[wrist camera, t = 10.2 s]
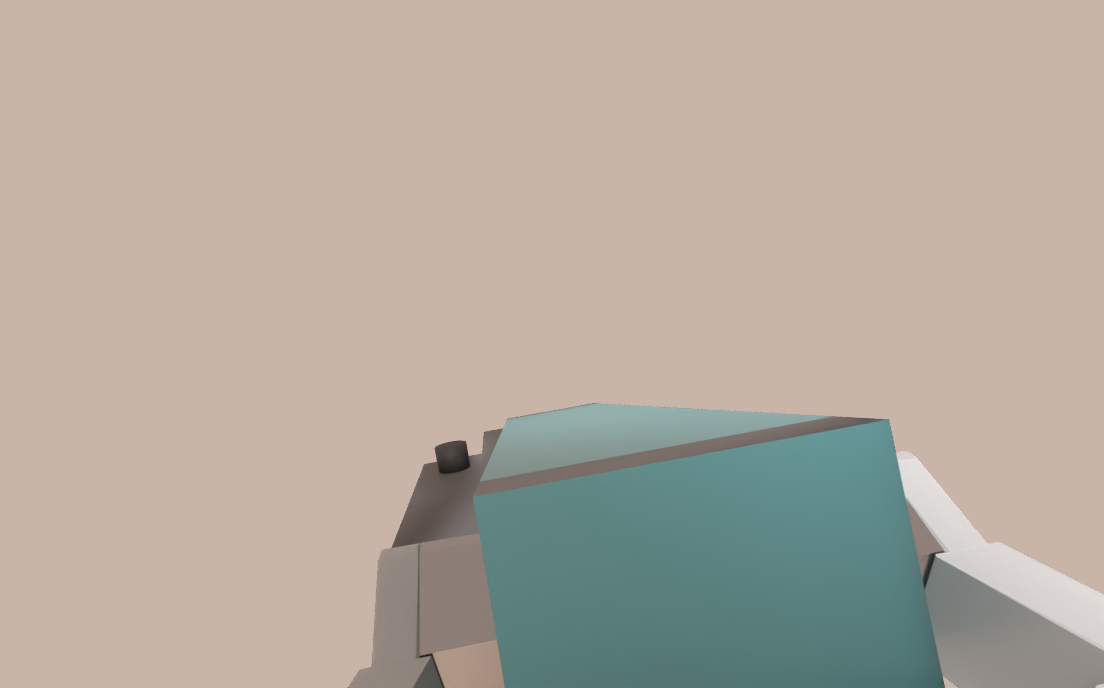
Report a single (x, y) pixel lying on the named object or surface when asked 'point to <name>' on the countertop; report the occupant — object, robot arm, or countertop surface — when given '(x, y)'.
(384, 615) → the robot arm
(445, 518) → the brown boxy piece
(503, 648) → the long teal bar
